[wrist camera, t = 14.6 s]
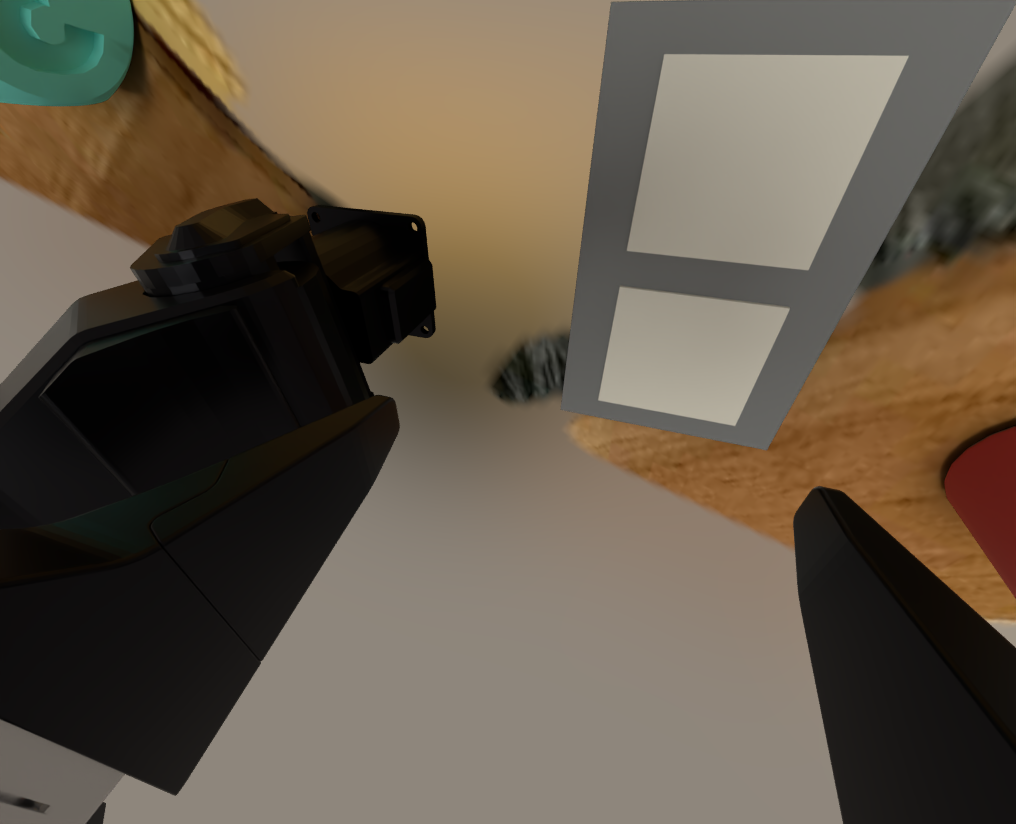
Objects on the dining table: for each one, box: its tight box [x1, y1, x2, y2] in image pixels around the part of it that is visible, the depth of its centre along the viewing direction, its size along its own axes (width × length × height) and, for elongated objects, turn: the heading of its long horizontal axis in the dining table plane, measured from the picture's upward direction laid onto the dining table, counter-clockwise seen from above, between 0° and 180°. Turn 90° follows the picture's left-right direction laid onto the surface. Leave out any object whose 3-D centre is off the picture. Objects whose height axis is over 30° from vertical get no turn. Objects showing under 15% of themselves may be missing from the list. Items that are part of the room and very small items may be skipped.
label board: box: [561, 0, 1016, 450], centre depth 18 cm, size 11×17×1 cm, turn 178°
